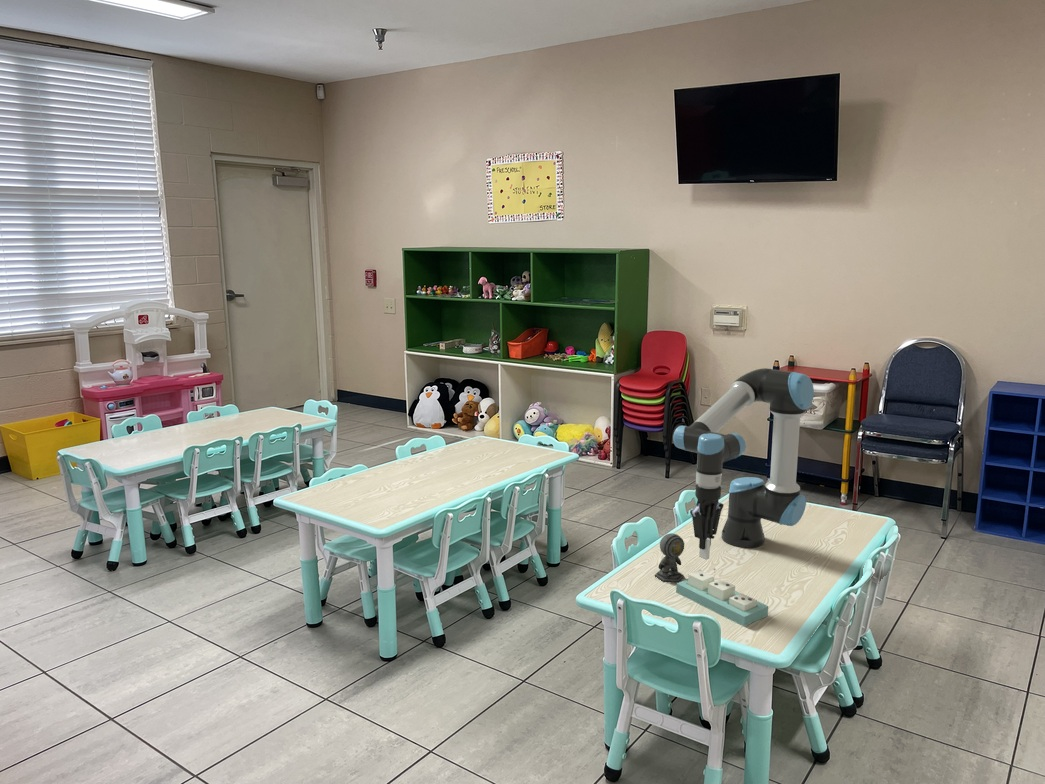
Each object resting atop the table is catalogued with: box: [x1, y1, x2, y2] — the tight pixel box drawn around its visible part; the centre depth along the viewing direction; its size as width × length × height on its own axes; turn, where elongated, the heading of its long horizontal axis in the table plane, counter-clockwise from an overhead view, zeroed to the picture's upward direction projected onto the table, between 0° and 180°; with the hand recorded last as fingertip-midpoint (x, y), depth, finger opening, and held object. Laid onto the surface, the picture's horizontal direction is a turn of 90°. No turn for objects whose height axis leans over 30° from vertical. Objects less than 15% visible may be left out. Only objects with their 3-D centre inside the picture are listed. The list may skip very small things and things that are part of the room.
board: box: [675, 578, 769, 627], centre depth 236 cm, size 26×11×3 cm, turn 36°
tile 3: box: [729, 592, 758, 612], centre depth 229 cm, size 6×6×4 cm
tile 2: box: [708, 578, 736, 601], centre depth 235 cm, size 6×6×4 cm
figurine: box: [654, 532, 685, 584], centre depth 252 cm, size 9×10×15 cm
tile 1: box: [687, 569, 715, 591], centre depth 241 cm, size 6×6×4 cm
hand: (704, 557), depth 239 cm, fingers closed
